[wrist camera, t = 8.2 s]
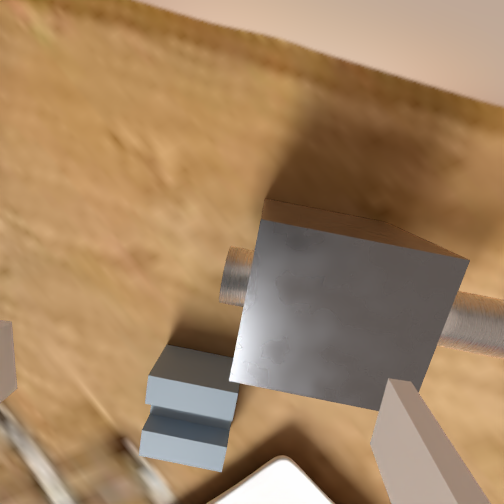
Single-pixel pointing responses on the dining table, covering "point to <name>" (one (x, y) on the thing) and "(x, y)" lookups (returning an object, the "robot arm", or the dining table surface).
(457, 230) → the dining table surface
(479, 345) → the axle
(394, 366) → the slotted grey block
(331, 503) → the salad plate
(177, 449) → the v block
